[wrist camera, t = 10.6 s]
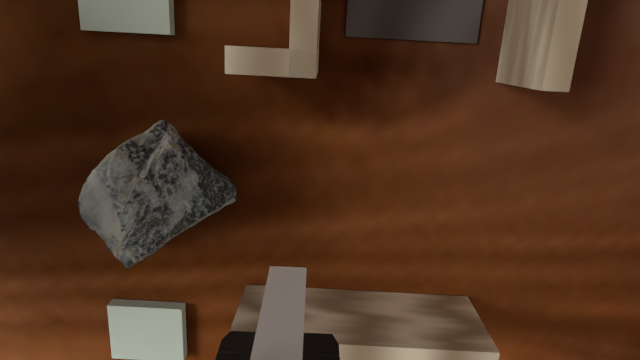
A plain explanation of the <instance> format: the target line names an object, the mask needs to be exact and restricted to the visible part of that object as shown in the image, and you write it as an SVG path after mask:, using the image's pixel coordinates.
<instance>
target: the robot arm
mask: <svg viewBox="0 0 640 360" xmlns="http://www.w3.org/2000/svg"><path fill="white" fill-rule="evenodd" d="M306 270H307V268H303V267H279V266H270V268H269V273H268V278H267V282H266V287H265V292H264V296H263V301H262V306H261V311H260V315H259V320H258V325H257V329H256V332H247V331H230V332H229V333H228V334H227V335H226V336H225V337H224V338H223V339H222V341H221V344H220V347H219V350H218V353H217V356H216V359H215V360H340V357H339V343H338V342H337V340H336V339H335V337H334V336H333V334H324V333H304V314H305V292H306Z"/></svg>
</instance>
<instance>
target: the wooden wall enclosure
mask: <svg viewBox="0 0 640 360" xmlns="http://www.w3.org/2000/svg"><path fill="white" fill-rule="evenodd" d="M321 1H322V0H291V2H290V35H289V49H283V48H264V47H245V46H225V74H237V75H256V76H275V77H294V78H312V79H315V78H316V76H317V74H318V63H319V42H320V22H321ZM587 2H588V0H509V1H508V7H507V14H506V20H505V26H504V32H503V39H502V45H501V51H500V58H499V64H498V70H497V76H496V82H498V83H503V84H508V85H514V86H519V87H524V88H530V89H535V90H540V91H555V92H569V90H570V85H571V80H572V75H573V70H574V66H575V61H576V56H577V51H578V46H579V41H580V36H581V32H582V27H583V22H584V17H585V12H586V7H587ZM482 5H483V0H348V2H347V17H346V33H345V37H361V38H380V39H398V40H417V41H436V42H455V43H473V44H477V40H478V33H479V26H480V19H481V12H482ZM265 287H266V285H247V284H246V286H245V289H244V292H243V295H242V297H241V300H240V303H239V306H238V309H237V312H236V315H235V317H234V320H233V323H232V326H231V329H230V331H247V332H256V329H257V325H258V320H259V315H260V311H261V306H262V301H263V296H264V292H265ZM304 333H324V334H333V336H334V337H335V339H336V340H337V342H338V343H339V357H340V360H499V355H500V352H499V351H498V349H497V347H496V345H495V344H494V342H493V340H492V338H491V336H490V335H489V333H488V331H487V329H486V328H485V326H484V324H483V322H482V321H481V319H480V317H479V315H478V314H477V312H476V310H475V308H474V307H473V305H472V303H471V301H470V300H469V298H468V296H450V295H431V294H413V293H395V292H376V291H358V290H339V289H321V288H306V292H305V314H304Z"/></svg>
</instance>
